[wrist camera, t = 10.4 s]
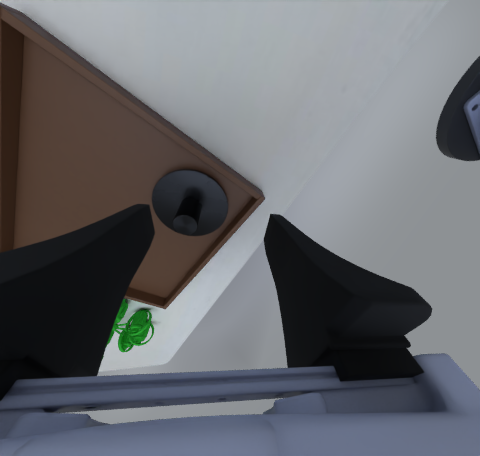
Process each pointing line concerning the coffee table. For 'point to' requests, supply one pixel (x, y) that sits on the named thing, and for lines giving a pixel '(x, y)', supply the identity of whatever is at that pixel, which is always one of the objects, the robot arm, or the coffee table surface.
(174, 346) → the coffee table surface
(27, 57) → the tray
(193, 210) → the lid
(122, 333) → the chandelier
